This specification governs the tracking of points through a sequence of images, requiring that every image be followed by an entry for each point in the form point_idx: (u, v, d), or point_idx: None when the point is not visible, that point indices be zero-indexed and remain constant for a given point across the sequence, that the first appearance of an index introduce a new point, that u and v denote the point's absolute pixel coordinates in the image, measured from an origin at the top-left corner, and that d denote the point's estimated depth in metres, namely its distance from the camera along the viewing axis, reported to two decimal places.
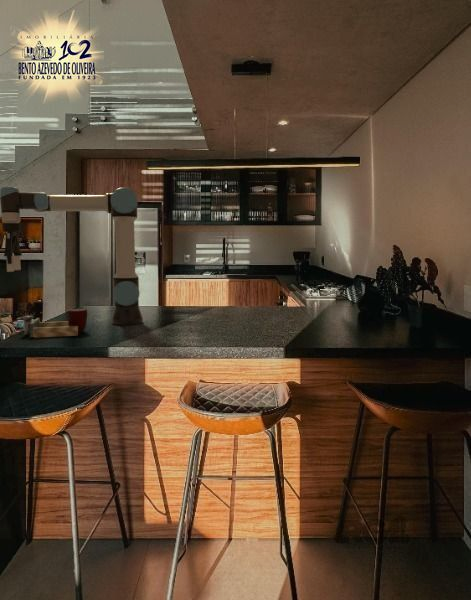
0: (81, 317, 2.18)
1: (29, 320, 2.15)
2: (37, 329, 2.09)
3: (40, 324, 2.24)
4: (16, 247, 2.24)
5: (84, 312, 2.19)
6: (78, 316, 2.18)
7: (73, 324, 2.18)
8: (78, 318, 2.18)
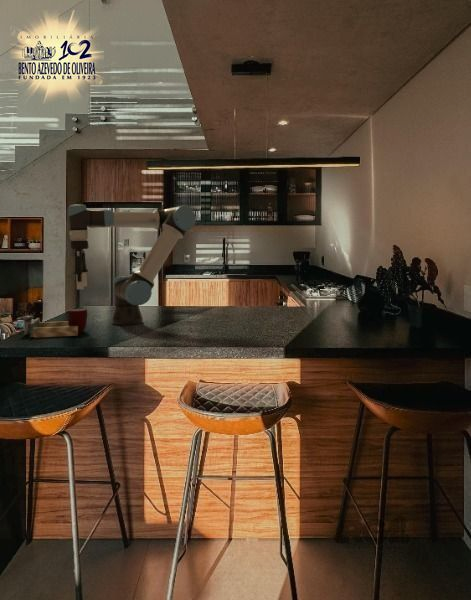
0: (81, 317, 2.18)
1: (29, 320, 2.15)
2: (37, 329, 2.09)
3: (40, 324, 2.24)
4: (83, 264, 2.24)
5: (84, 312, 2.19)
6: (78, 316, 2.18)
7: (73, 324, 2.18)
8: (78, 318, 2.18)
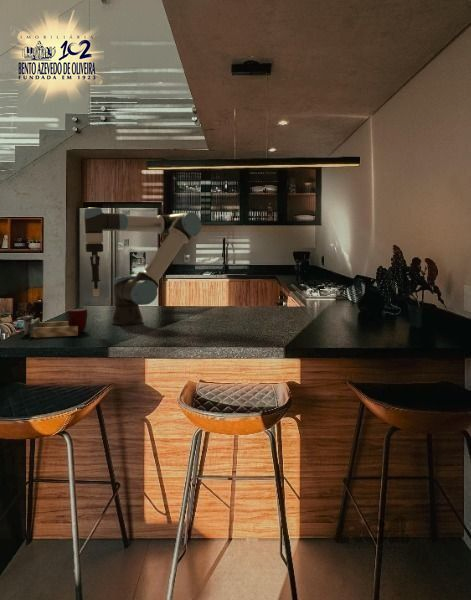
0: (81, 317, 2.18)
1: (29, 320, 2.15)
2: (37, 329, 2.09)
3: (40, 324, 2.24)
4: None
5: (84, 312, 2.19)
6: (78, 316, 2.18)
7: (73, 324, 2.18)
8: (78, 318, 2.18)
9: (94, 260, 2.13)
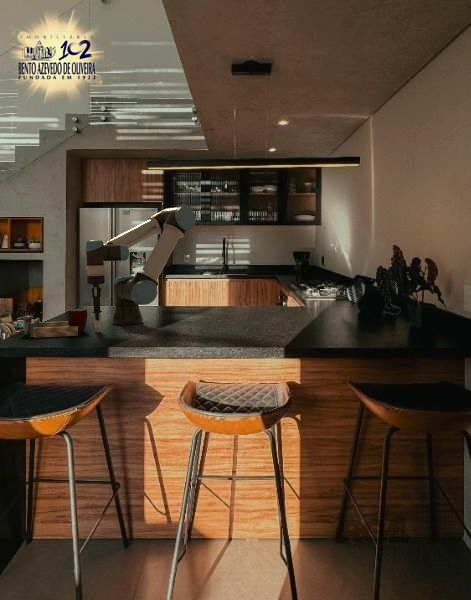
0: (81, 317, 2.18)
1: (29, 320, 2.15)
2: (37, 329, 2.09)
3: (40, 324, 2.24)
4: None
5: (84, 312, 2.19)
6: (78, 316, 2.18)
7: (73, 324, 2.18)
8: (78, 318, 2.18)
9: (95, 293, 2.15)
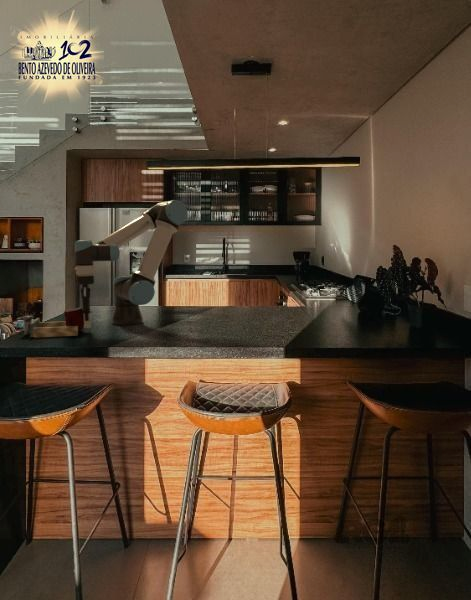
0: (78, 316, 2.18)
1: (29, 320, 2.15)
2: (37, 329, 2.09)
3: (40, 324, 2.24)
4: None
5: (80, 311, 2.19)
6: (74, 315, 2.17)
7: (71, 324, 2.18)
8: (75, 317, 2.17)
9: (85, 293, 2.14)
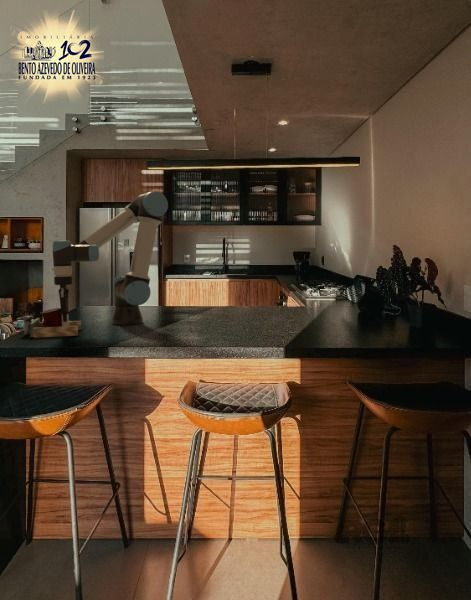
0: (55, 317, 2.16)
1: (29, 320, 2.15)
2: (37, 329, 2.09)
3: (40, 324, 2.24)
4: (66, 302, 2.19)
5: (58, 311, 2.17)
6: (52, 317, 2.15)
7: (49, 325, 2.17)
8: (52, 318, 2.16)
9: (62, 293, 2.12)
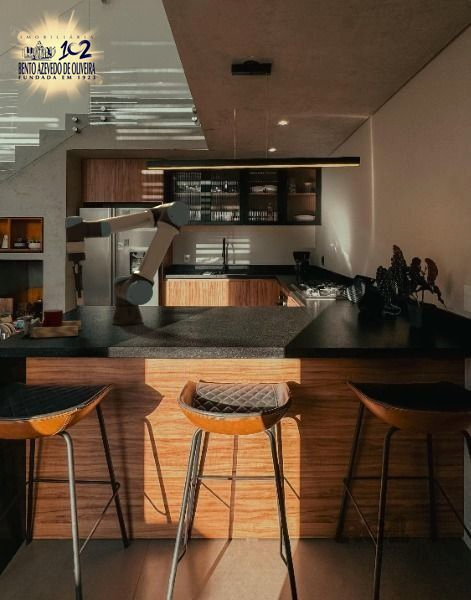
0: (56, 318, 2.17)
1: (29, 320, 2.15)
2: (37, 329, 2.09)
3: (40, 324, 2.24)
4: (80, 278, 2.19)
5: (59, 313, 2.17)
6: (53, 317, 2.16)
7: (48, 325, 2.17)
8: (53, 319, 2.16)
9: (76, 269, 2.12)
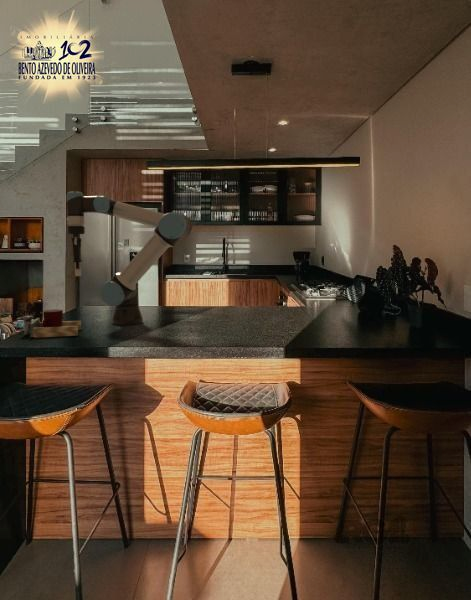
0: (56, 318, 2.17)
1: (29, 320, 2.15)
2: (37, 329, 2.09)
3: (40, 324, 2.24)
4: None
5: (59, 313, 2.17)
6: (53, 317, 2.16)
7: (48, 325, 2.17)
8: (53, 319, 2.16)
9: (75, 241, 2.26)
